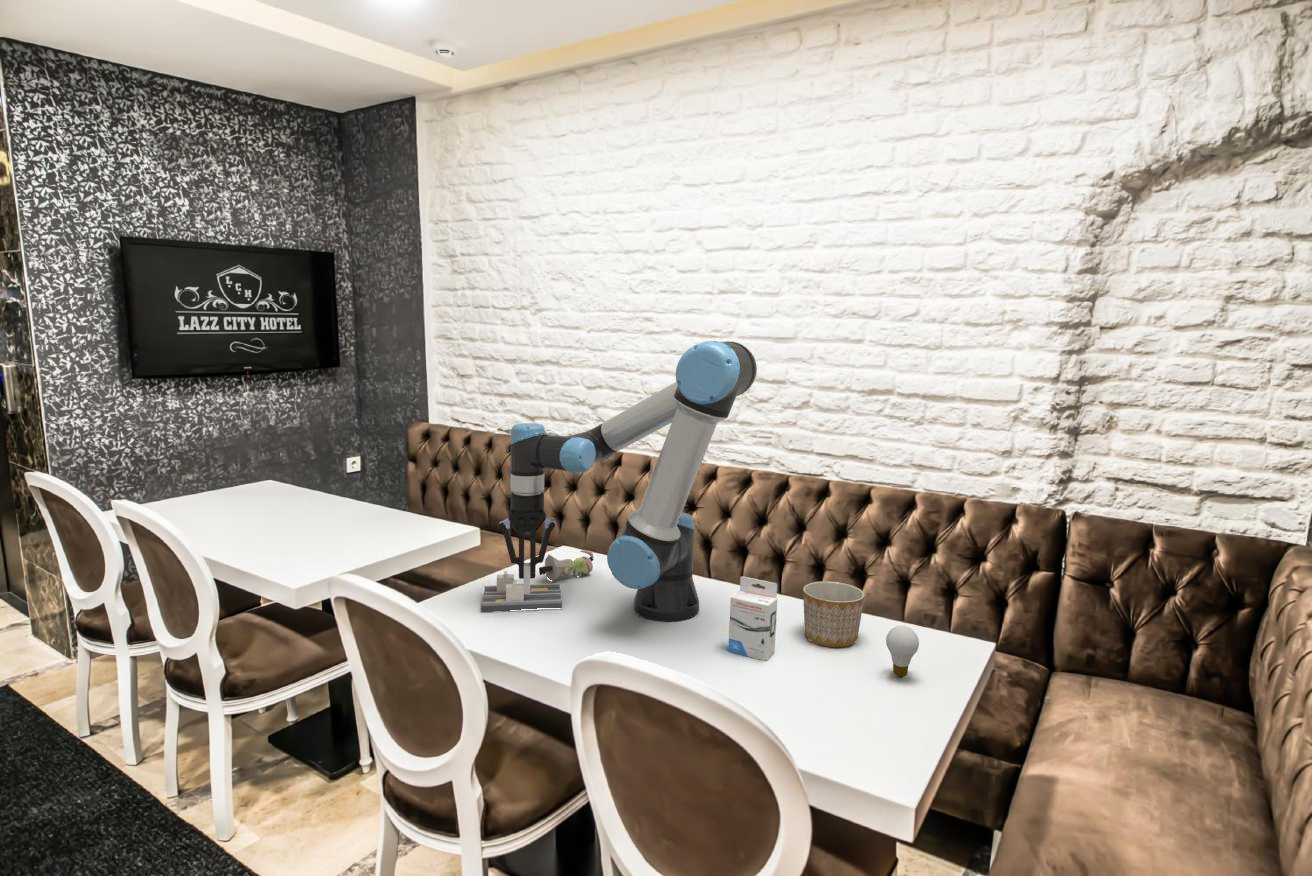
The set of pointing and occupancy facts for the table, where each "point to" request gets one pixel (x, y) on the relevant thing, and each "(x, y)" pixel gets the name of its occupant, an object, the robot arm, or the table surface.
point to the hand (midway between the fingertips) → (527, 591)
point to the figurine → (567, 566)
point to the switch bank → (536, 599)
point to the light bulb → (902, 648)
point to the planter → (832, 613)
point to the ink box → (753, 619)
